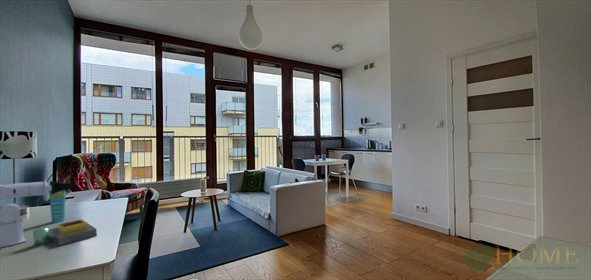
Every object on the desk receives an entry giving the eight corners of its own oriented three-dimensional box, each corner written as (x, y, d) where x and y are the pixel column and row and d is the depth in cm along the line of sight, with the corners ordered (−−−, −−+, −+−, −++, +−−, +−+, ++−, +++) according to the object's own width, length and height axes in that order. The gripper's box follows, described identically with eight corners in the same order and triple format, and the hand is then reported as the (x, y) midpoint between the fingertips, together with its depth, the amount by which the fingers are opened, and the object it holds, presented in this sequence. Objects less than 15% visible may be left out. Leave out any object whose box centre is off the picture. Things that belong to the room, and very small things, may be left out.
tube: (47, 223, 126) (45, 185, 126) (50, 221, 130) (48, 184, 130) (67, 220, 130) (65, 183, 130) (69, 218, 134) (67, 182, 134)
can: (35, 247, 97) (34, 232, 97) (33, 244, 100) (32, 229, 100) (50, 243, 101) (49, 228, 101) (48, 240, 104) (47, 226, 104)
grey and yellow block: (58, 246, 98) (58, 232, 98) (49, 236, 109) (49, 223, 109) (96, 235, 107) (96, 223, 107) (84, 227, 118) (84, 216, 118)
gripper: (30, 179, 102) (74, 176, 112) (29, 180, 112) (70, 177, 122) (29, 197, 102) (74, 192, 112) (29, 196, 111) (69, 192, 121)
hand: (72, 185), depth 117 cm, fingers open, 7 cm apart
